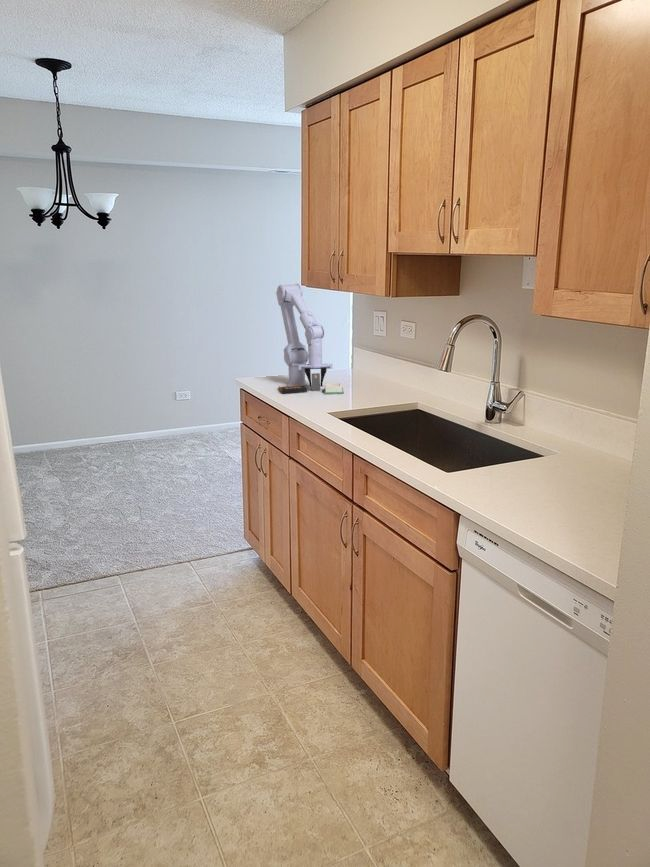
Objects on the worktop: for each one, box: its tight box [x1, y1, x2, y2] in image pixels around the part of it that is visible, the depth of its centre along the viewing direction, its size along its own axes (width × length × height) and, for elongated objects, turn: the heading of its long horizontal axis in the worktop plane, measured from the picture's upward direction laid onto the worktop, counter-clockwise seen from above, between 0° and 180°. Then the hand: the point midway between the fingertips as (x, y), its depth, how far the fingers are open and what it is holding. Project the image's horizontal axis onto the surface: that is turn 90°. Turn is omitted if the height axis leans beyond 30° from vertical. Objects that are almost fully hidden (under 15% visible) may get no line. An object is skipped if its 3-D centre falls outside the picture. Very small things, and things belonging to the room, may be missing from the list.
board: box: [323, 382, 345, 395], centre depth 280 cm, size 10×8×3 cm
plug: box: [311, 372, 321, 392], centre depth 283 cm, size 4×4×7 cm
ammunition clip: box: [277, 385, 308, 395], centre depth 284 cm, size 11×2×12 cm
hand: (316, 385), depth 283 cm, fingers open, 4 cm apart
